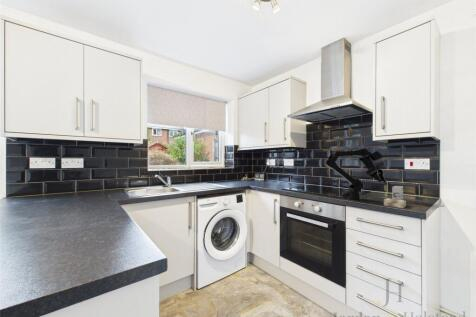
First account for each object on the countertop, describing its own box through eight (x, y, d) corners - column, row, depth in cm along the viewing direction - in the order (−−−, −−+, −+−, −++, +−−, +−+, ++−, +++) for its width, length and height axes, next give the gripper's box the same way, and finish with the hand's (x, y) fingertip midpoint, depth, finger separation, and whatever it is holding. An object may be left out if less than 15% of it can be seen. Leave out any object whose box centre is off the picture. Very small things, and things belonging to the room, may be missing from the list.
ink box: (394, 202, 143) (394, 185, 143) (403, 203, 139) (403, 186, 139) (391, 204, 137) (391, 186, 137) (401, 205, 133) (401, 187, 133)
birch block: (383, 205, 134) (383, 199, 134) (386, 204, 139) (386, 198, 139) (403, 208, 126) (403, 202, 126) (405, 206, 131) (405, 200, 131)
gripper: (374, 155, 141) (390, 174, 133) (383, 158, 153) (398, 176, 145) (359, 165, 147) (374, 183, 139) (369, 167, 159) (383, 184, 151)
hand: (383, 182), depth 143 cm, fingers open, 9 cm apart
